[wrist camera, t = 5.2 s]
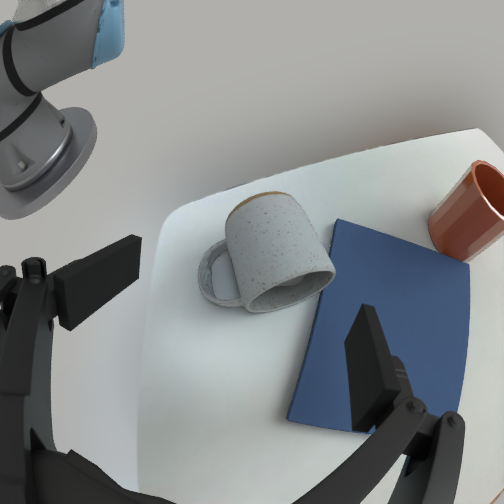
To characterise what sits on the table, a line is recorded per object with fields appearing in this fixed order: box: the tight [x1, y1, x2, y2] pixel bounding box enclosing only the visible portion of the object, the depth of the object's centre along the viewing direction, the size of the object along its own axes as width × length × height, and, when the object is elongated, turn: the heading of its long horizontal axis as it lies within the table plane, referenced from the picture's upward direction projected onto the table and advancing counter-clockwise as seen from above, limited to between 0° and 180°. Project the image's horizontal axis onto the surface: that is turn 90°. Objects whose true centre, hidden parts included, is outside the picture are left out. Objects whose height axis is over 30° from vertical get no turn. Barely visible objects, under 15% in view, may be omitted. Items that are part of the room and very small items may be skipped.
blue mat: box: [286, 219, 470, 434], centre depth 24 cm, size 18×20×1 cm
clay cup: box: [428, 160, 504, 263], centre depth 25 cm, size 8×8×10 cm
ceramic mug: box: [198, 191, 336, 313], centre depth 23 cm, size 11×8×8 cm
